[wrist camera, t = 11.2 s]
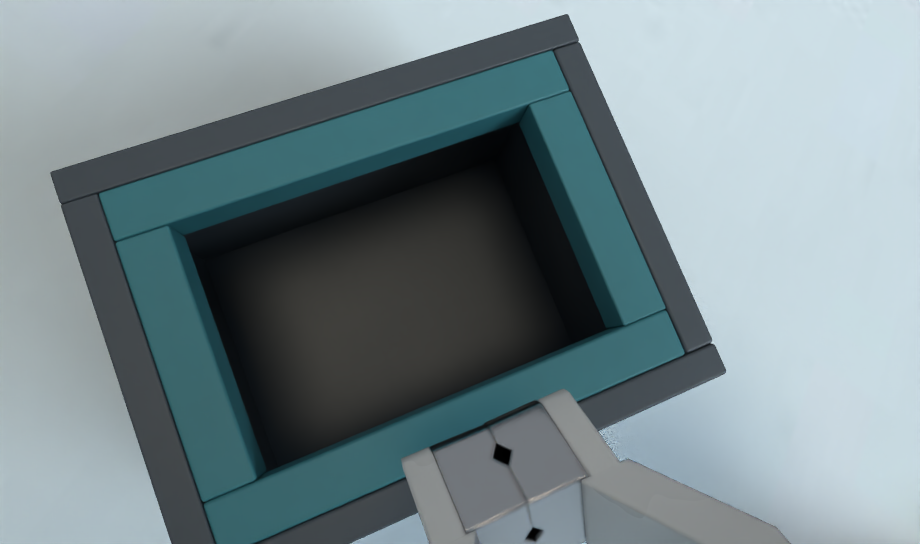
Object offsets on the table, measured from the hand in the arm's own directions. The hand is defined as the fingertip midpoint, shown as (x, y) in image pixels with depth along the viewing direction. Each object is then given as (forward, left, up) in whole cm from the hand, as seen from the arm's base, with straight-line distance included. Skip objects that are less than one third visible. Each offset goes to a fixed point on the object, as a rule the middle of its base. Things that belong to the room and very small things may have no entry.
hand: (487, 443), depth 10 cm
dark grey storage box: (0, -1, -8) cm, 8 cm away
